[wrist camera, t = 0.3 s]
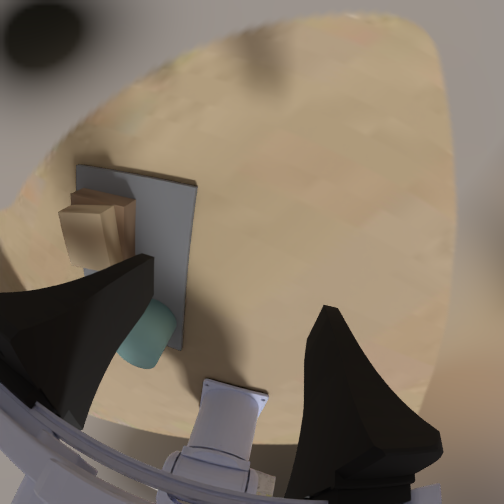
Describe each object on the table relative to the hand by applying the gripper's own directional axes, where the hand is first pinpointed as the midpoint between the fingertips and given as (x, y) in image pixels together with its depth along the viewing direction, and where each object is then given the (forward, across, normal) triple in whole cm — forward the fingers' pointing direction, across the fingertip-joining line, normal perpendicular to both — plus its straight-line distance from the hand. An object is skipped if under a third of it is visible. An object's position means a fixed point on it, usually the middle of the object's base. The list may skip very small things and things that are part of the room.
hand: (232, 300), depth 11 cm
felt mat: (+10, +11, +8) cm, 17 cm away
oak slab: (+8, +13, +4) cm, 16 cm away
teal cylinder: (+10, +8, +13) cm, 18 cm away
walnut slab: (+10, +13, +4) cm, 17 cm away
